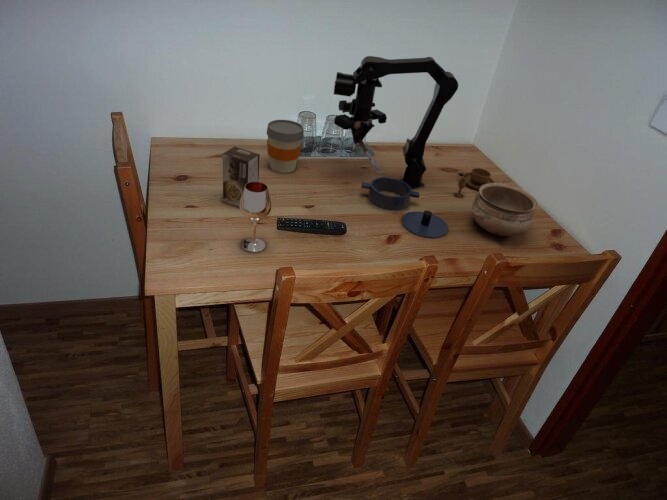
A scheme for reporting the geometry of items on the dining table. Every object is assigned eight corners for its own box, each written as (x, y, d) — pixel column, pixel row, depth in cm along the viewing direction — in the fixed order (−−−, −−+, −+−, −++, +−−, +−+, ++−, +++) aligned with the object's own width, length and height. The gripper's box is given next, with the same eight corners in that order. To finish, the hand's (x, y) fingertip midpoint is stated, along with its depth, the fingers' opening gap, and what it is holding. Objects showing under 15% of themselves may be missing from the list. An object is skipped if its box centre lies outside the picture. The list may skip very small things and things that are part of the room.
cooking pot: (484, 253, 150) (497, 218, 143) (446, 219, 163) (456, 186, 156) (545, 240, 161) (559, 207, 154) (505, 210, 174) (516, 178, 167)
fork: (382, 172, 168) (387, 150, 164) (377, 174, 167) (382, 151, 162) (353, 154, 178) (357, 131, 173) (348, 155, 176) (352, 132, 172)
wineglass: (239, 235, 141) (241, 178, 131) (269, 237, 142) (272, 180, 132) (237, 253, 135) (238, 193, 124) (268, 254, 136) (272, 196, 125)
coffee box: (258, 202, 157) (261, 154, 148) (247, 210, 152) (248, 161, 143) (233, 193, 160) (234, 145, 151) (221, 201, 155) (221, 152, 146)
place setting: (504, 195, 183) (510, 180, 180) (457, 198, 177) (462, 183, 173) (478, 172, 197) (482, 158, 193) (433, 175, 190) (437, 160, 186)
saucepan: (361, 187, 174) (364, 172, 171) (416, 196, 174) (419, 182, 171) (357, 206, 163) (360, 191, 160) (416, 216, 163) (420, 201, 159)
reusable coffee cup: (273, 177, 172) (276, 135, 163) (259, 161, 181) (261, 120, 172) (306, 172, 178) (310, 132, 169) (291, 157, 186) (294, 118, 178)
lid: (401, 210, 164) (404, 197, 162) (446, 218, 164) (450, 205, 161) (400, 234, 152) (404, 220, 150) (448, 243, 152) (453, 229, 149)
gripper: (369, 87, 174) (362, 130, 183) (326, 92, 164) (321, 138, 173) (391, 98, 167) (382, 142, 176) (348, 104, 157) (341, 151, 166)
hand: (356, 143), depth 173 cm, fingers closed on fork, 1 cm apart
